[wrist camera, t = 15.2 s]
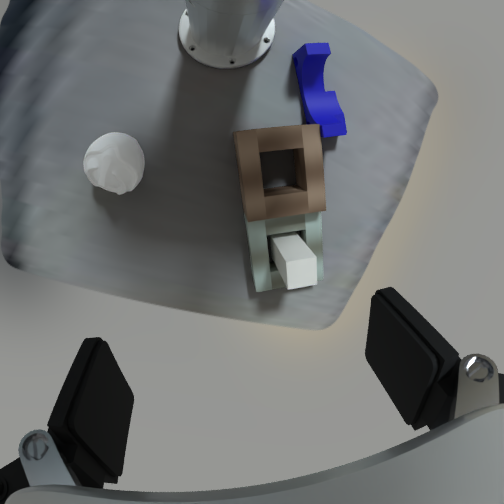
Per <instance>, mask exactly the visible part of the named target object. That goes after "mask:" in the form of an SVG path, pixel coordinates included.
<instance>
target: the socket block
mask: <svg viewBox="0 0 504 504" xmlns="http://www.w3.org/2000/svg"><path fill="white" fill-rule="evenodd" d="M233 136H234V143H235V151H236V158H237V166H238V173H239V180H240V188H241V195H242V203H243V210H244V217H245V225H246V232H247V239H248V247H249V254H250V261H251V269H252V276H253V283H254V286H255V290H256V292H262V291H267V290H273V289H278V288H284V287H286V285H285V283H284V281H283V279H282V277H281V275H280V273H279V271H278V269H277V266H276V264H275V262H272V263H269V255H268V246H267V237H266V236H267V235H273V234H279V233H285V232H292V231H298V230H300V236H301V239H302V240H303V241H304V242H305V244H306V245H307V246H308V247H309V248H310V250H311V251H312V252H313V253H314V254H315V256H316V257H317V281H320V280H323V246H322V222H321V211H326V200H325V183H324V169H323V156H322V145H321V134H320V124H309V125H294V126H282V127H271V128H261V129H252V130H244V131H236V132H233ZM285 149H293V154H294V164H295V174H296V185H289V186H282V187H274V188H267V189H263V181H262V173H261V164H260V156H259V152H267V151H276V150H285Z"/></svg>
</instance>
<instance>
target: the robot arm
mask: <svg viewBox="0 0 504 504" xmlns="http://www.w3.org/2000/svg"><path fill="white" fill-rule="evenodd" d="M185 1H186V7H187V8H186V9H185V10H184V12H183V14H182V16H181V18H180V22H179V36H180V40H181V43H182V45H183V47H184V49H185V50H186V52H187V53H188V54H189V55H190V56H191V57H192V58H194V59H195V60H197V61H198V62H200V63H202V64H204V65H207V66H210V67H214V68H220V69H232V68H238V67H243V66H246V65H248V64H251V63H253V62H254V61H256V60H257V59H259V58H260V57H261V56H262V55H264V54H265V53H266V51H267V50H268V49H269V47H270V46H271V44H272V42H273V40H274V36H275V30H276V25H275V19H274V16H275V14H276V12H277V11H278V9H279V8H280V6H281V4H282V3H283V1H284V0H185ZM187 15H188V16H187ZM264 41H267V43H265V42H264ZM192 48H194V49H195V50H194V51H191V49H192ZM230 62H234V64H230ZM458 355H459V353H458V352H457V351H456V350H455V349H454V348H453V347H452V346H451V345H450V344H449V343H448V342H447V341H446V340H445V338H443V337H442V335H441V334H440V333H439V332H438V331H437V330H436V329H435V328H434V327H433V326H431V324H430V323H429V322H428V321H427V320H426V319H425V318H424V317H423V316H422V315H421V314H420V313H419V312H418V311H417V310H416V309H415V308H414V307H413V306H412V305H411V304H410V303H409V302H407V301H406V300H405V299H404V298H403V297H402V296H401V295H400V294H399V293H398V292H397V291H396V290H395V289H394V288H392V287H388V288H384V289H380V290H377V291H376V293H375V295H373V296H372V298H371V307H370V317H369V326H368V334H367V342H366V349H365V356H366V359H367V361H368V363H369V365H370V366H371V368H372V369H373V371H374V372H375V374H376V376H377V377H378V379H379V380H380V382H381V384H382V385H383V387H384V388H385V390H386V392H387V393H388V395H389V396H390V398H391V400H392V401H393V403H394V405H395V406H396V408H397V409H398V411H399V413H400V414H401V416H402V418H403V419H404V421H405V422H406V424H408V425H412V427H413V429H414V430H417V429H420V428H422V427H424V426H426V425H427V426H428V427H429V429H430V431H429V432H427V433H425V434H423V435H420V436H418V437H416V438H414V439H411V440H409V441H407V442H404V443H402V444H400V445H397V446H395V447H392V448H390V449H387V450H385V451H382V452H380V453H377V454H375V455H372V456H369V457H367V458H363V459H361V460H358V461H355V462H352V463H348V464H345V465H342V466H339V467H335V468H332V469H328V470H325V471H321V472H318V473H314V474H310V475H306V476H301V477H297V478H293V479H288V480H283V481H278V482H273V483H267V484H261V485H255V486H248V487H240V488H232V489H222V490H211V491H197V492H196V491H195V492H138V491H120V490H108V489H103V485H104V482H105V483H115V484H117V482H118V476H121V475H122V471H123V464H124V457H125V451H126V444H127V437H128V431H129V426H130V420H131V414H132V409H133V404H134V395H133V393H132V390H131V388H130V387H129V385H128V383H127V381H126V379H125V378H124V376H123V374H122V372H121V370H120V368H119V366H118V364H117V362H116V360H115V358H114V356H113V354H112V352H111V350H110V347H109V345H108V343H107V342H106V341H103V340H102V339H101V338H100V337H96V338H86V339H84V341H83V343H82V345H81V347H80V349H79V351H78V353H77V355H76V357H75V359H74V362H73V364H72V366H71V368H70V371H69V373H68V375H67V378H66V380H65V382H64V384H63V386H62V389H61V391H60V394H59V396H58V399H57V401H56V403H55V406H54V408H53V411H52V413H51V416H50V419H49V421H48V424H47V426H48V427H49V428H48V431H47V432H46V431H44V430H33V431H31V432H29V433H27V434H26V435H25V436H24V437H23V438H22V440H21V442H20V444H19V449H18V451H19V456H20V457H19V458H18V459H16V460H14V461H13V462H11V463H10V464H8V465H6V466H5V467H3V468H2V469H0V504H504V374H500V373H498V369H497V366H496V364H495V363H494V362H493V361H492V360H491V359H490V358H489V357H487V356H485V355H481V354H470V355H467V356H466V357H464V358H463V359H462V360H461V359H460V358H459V356H458Z"/></svg>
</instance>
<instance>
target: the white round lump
mask: <svg viewBox="0 0 504 504" xmlns="http://www.w3.org/2000/svg"><path fill="white" fill-rule="evenodd" d="M83 166H84V171H85V173H86V175H87V177H88V179H89V180H90V182H91V183H92V184H93V185H94V186H99V187H101V188H103V189H105V190H107V191H111V192H115V193H117V194H118V195H121V194H123V193H125V192H127V191H128V192H129V191H132V190H133V189H134V188H135V187H136V186H137V185H138V184H139V182H140V181H141V179H142V177H143V172H144V167H145V159H144V154H143V151H142V149H141V147H140V145H139V144H138V142H137V140H136V139H135V138H133V137H131V136H129V135H127V134H124V133H118V132H112V133H108V134H105V135H103V136H101V137H100V138H98V139H97V140H95V141H94V142H93V143H92V144H91V145H90V147H89V148H88V150H87V152H86V154H85V157H84V162H83Z"/></svg>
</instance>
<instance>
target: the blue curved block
mask: <svg viewBox="0 0 504 504" xmlns="http://www.w3.org/2000/svg"><path fill="white" fill-rule="evenodd" d="M330 54H331V52H330V48H329V44H328V43H308V44H304V45H303V46H302V47H301V48H300V49H298V50H297V51H296V52H295V53H294V54H293V60H294V64H295V69H296V73H297V78H298V83H299V87H300V92H301V97H302V102H303V107H304V113H305V118H306V123H307V125H309V124H320V134H321V137H323V138H325V137H332V136H340V135H346V133H347V130H346V124H345V118H344V113H343V112H342V110H341V108H340V106H339V103H338V101H337V97H336V93H335V91H328V92H325V90H324V81H323V72H324V65H325V61H326V59H327V57H328V56H329V55H330Z"/></svg>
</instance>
